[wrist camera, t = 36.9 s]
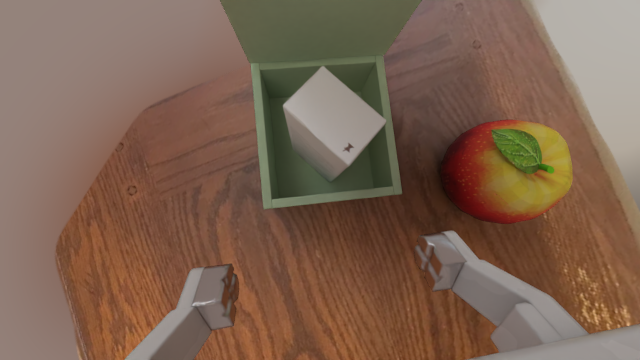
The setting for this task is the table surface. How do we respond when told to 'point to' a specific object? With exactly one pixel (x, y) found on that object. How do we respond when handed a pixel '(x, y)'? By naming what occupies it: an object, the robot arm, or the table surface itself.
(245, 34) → the lid
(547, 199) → the fruit
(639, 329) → the robot arm
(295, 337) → the table surface
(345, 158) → the cosmetic box
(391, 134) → the chest
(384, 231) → the table surface
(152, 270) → the table surface
